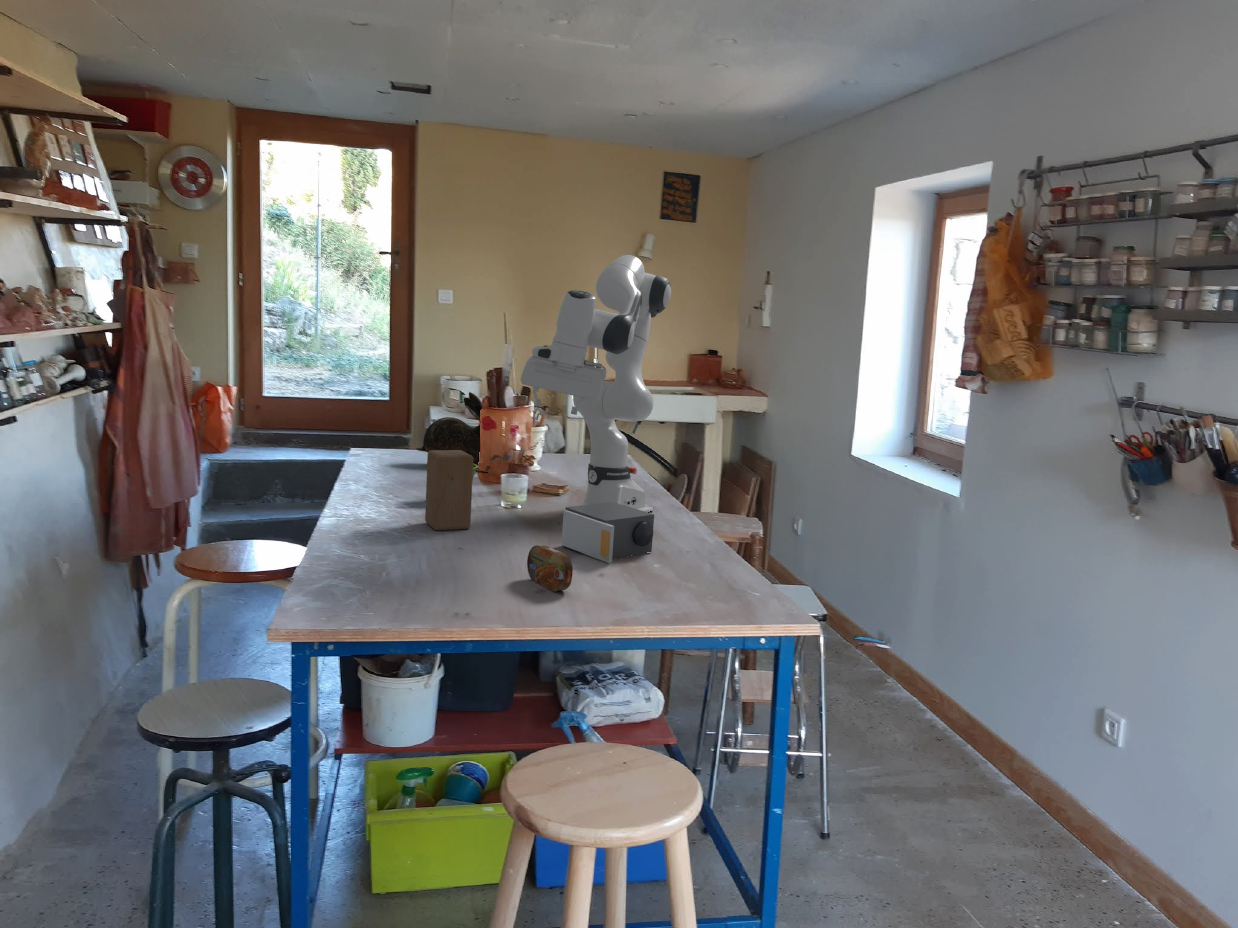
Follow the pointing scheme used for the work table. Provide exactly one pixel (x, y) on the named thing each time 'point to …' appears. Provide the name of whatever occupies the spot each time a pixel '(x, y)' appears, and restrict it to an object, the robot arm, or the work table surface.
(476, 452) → the sculpture
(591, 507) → the cabinet body
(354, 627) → the work table surface
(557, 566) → the tin
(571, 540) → the door
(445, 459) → the wooden block
